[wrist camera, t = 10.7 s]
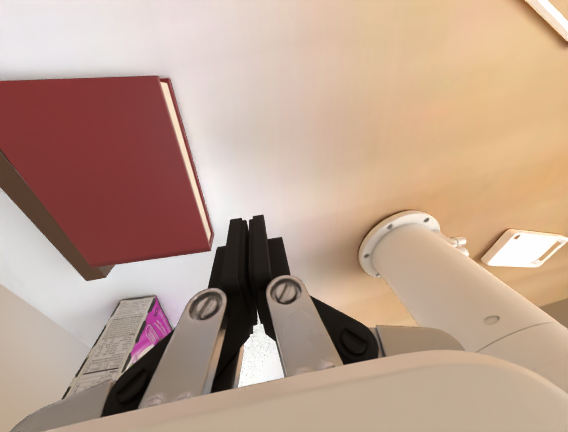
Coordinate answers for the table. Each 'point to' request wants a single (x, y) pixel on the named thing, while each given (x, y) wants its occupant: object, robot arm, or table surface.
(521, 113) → the table surface
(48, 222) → the rail
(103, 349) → the candy bar box
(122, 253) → the book
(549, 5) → the pencil
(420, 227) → the robot arm
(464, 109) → the table surface
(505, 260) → the phone case
